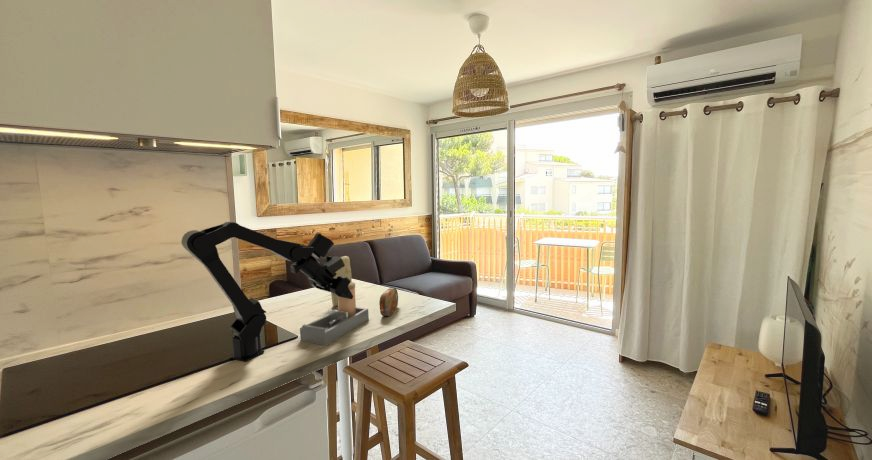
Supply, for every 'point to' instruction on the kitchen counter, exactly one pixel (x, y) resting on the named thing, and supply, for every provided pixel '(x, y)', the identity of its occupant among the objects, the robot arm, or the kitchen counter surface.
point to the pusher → (336, 317)
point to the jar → (348, 302)
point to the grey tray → (331, 328)
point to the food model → (344, 272)
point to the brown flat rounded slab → (388, 302)
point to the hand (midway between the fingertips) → (345, 295)
